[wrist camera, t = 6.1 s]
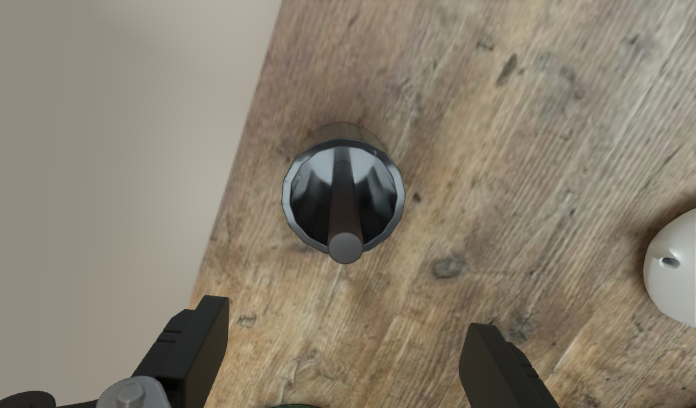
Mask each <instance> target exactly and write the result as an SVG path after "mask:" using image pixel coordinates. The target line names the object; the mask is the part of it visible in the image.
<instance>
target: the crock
mask: <svg viewBox="0 0 696 408" xmlns="http://www.w3.org/2000/svg"><path fill="white" fill-rule="evenodd" d="M338 162H346V163H348V164H349V165H350V166H351V167H352V170H353V177H354V184H355V191H356V197H357V204H358V211H359V218H360V224H361V231H362V238H363V245H364V250H363V252H365V251H369V250H371V249H373V248H374V247H376V246H377V245H378V244H380V243H381V242H383V241H384V240H386V239H387V238H388V237H389V236H390V235H391V233H392V232H393V230H394V229H395V227H396V226H397V224H398V223H399V221H400V220H401V217H402V213H403V208H404V203H405V197H406V194H405V189H404V185H403V181H402V176H401V173H400V171H399V169H398V168H397V166H396V164H395V163H394V161H393V160H392V158H391V157H390V155H389V154H388V152H387V150H386V149H385V148H384V146H383V145H382V144H381V142H380V141H379V139H378V138H377V137H376V136H375V135H374V134H373V133H372V132H370V131H369V130H367V129H366V128H364V127H362V126H359V125H356V124H352V123H345V122H340V123H332V124H328V125H325V126H323V127H321V128H319V129H317V130H316V131H314V132H313V133H312V134H311V135H310V136H308V138H306V139H305V140H304V142H303V144H302V146H301V148H300V150H299V151H298V153H297V155H296V157H295V159H294V161H293V163H292V165H291V166H290V168H289V170H288V172H287V174H286V176H285V178H284V181H283V188H282V200H281V203H282V208H283V210H284V213H285V216H286V219H287V222H288V225H289V227H290V228H291V229H292V230H293V231H294V232H295V233H296V235H297V236H298V237H299V238H300V239H301V240H302V241H303V242H304V243H305V244H307V245H309V246H311V247H313V248H315V249H317V250H319V251H321V252H323V253H325V254H329V253H328V250H327V244H328V229H329V213H330V198H331V183H332V169H333V167H334V165H335V164H337V163H338Z"/></svg>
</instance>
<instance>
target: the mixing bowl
mask: <svg viewBox="0 0 696 408" xmlns="http://www.w3.org/2000/svg"><path fill="white" fill-rule="evenodd" d="M273 408H318V407H314V406H309V405H298V404H292V405H282V406H276V407H273Z"/></svg>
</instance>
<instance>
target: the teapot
mask: <svg viewBox="0 0 696 408" xmlns="http://www.w3.org/2000/svg"><path fill="white" fill-rule="evenodd" d="M643 276H644V283H645V287H646V289H647V292H648V294H649V296H650V298H651V299H652V301H653V302H654V304H655V305H656V306H657V308H658V309H659V310H660V311H661V312H663V313H664V314H666V315H667V316H669V317H671V318H673V319H675V320H677V321H679V322H681V323H684V324H686V325H689V326H691V327H694V328H696V208H695V209H693V210H690V211H688V212H686V213H684V214H683V215H681V216H679V217H678V218H676V219H675V220H673V221H671V222H670V223H668V224H667V225H666V226H665V227H663V228H662V229H661V230H660V231H659V232H658V233H657V235H656V236H655V237H654V238H653V240H652V241H650V245H649V247H648V249H647V252H646V256H645V262H644V269H643Z"/></svg>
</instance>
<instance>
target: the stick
mask: <svg viewBox="0 0 696 408" xmlns="http://www.w3.org/2000/svg"><path fill="white" fill-rule="evenodd" d="M327 250H328V253H329V255H330V257H331V258H332V259H333V260H334V261H336V262H338V263H340V264H350V263H353V262H355V261H357V260H358V259H359V258H360V257H361V255H362V253H363V250H364V245H363V238H362V231H361V224H360V218H359V211H358V204H357V197H356V191H355V184H354V177H353V170H352V167H351V166H350V165H349V164H348V163H346V162H338V163H337V164H335V165H334V167H333V169H332V183H331V198H330V213H329V229H328V244H327Z"/></svg>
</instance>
